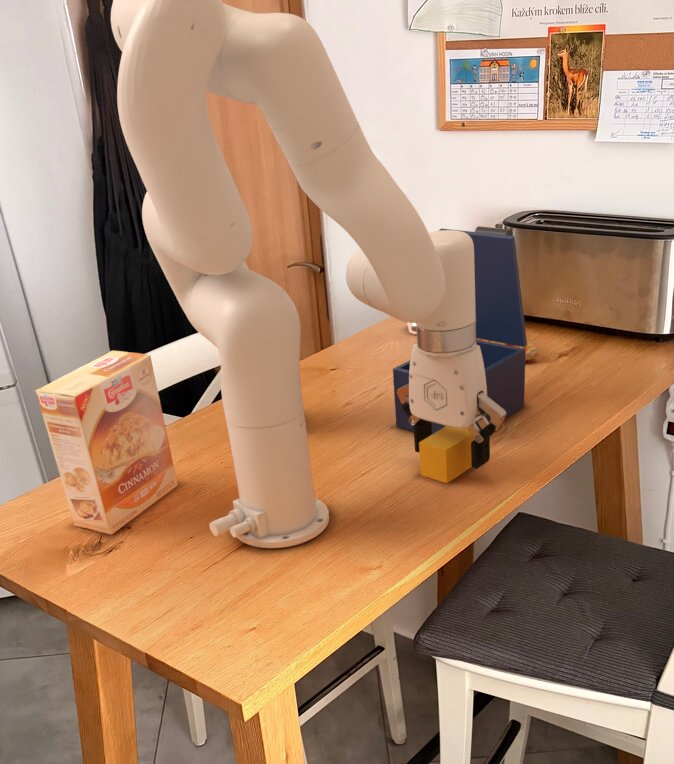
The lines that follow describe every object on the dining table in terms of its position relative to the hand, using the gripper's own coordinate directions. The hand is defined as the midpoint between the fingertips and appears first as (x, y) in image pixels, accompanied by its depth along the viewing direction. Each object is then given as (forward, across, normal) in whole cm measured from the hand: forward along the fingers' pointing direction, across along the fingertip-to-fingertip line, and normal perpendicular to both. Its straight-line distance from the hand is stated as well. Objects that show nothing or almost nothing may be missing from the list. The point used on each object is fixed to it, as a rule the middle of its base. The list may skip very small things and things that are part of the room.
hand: (451, 456), depth 126 cm
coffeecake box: (+1, -31, -33) cm, 45 cm away
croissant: (+3, -22, +37) cm, 43 cm away
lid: (-16, -9, +21) cm, 28 cm away
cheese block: (+2, 0, 0) cm, 2 cm away
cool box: (+2, -9, +15) cm, 18 cm away
